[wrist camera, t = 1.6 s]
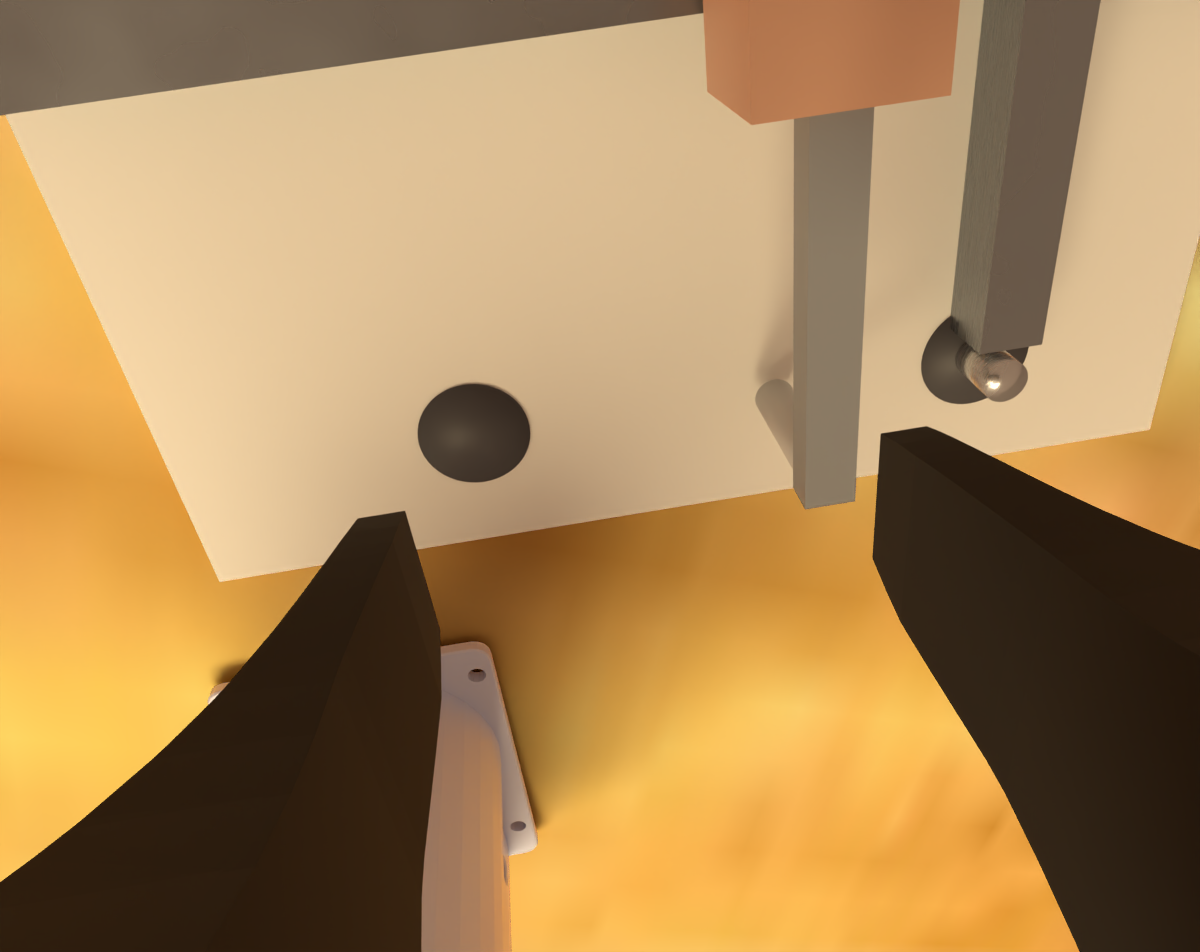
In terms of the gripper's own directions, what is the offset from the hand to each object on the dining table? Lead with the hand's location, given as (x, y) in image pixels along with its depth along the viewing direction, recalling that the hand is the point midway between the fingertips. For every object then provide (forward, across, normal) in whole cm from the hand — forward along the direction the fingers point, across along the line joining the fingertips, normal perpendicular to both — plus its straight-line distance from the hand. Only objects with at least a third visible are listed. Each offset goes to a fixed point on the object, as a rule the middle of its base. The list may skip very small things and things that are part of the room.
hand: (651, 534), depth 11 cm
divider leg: (+8, -4, -2) cm, 10 cm away
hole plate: (+10, -2, -2) cm, 10 cm away
